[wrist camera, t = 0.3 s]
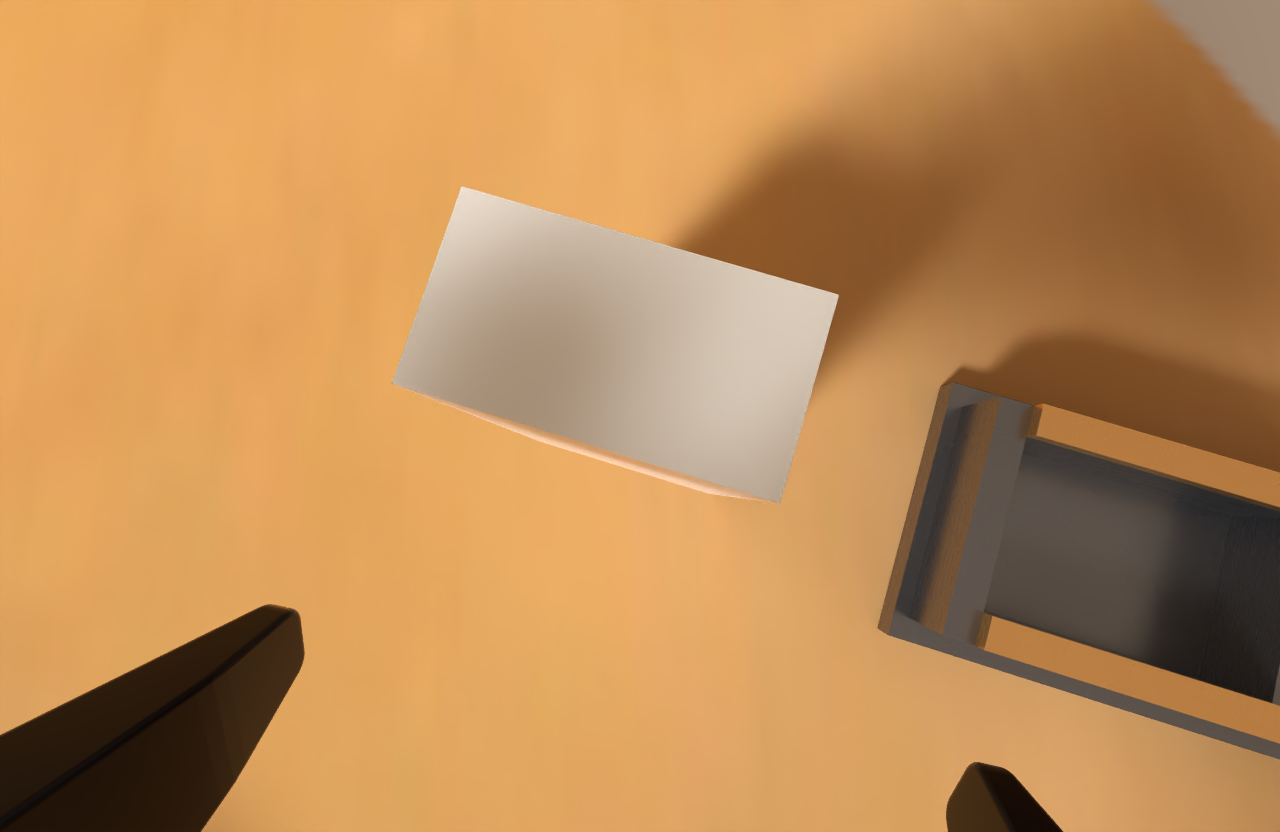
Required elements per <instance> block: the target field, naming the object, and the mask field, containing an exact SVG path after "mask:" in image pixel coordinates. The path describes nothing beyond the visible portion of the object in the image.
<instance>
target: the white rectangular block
mask: <svg viewBox="0 0 1280 832" xmlns="http://www.w3.org/2000/svg"><path fill="white" fill-rule="evenodd" d="M838 297H839V295H838V294H835V293H831V292H828V291H824V290H821V289H817V288H814V287H810V286H807V285H803V284H800V283H796V282H793V281H789V280H786V279H782V278H779V277H775V276H772V275H768V274H765V273H762V272H758V271H755V270H751V269H748V268H744V267H741V266H737V265H734V264H730V263H727V262H723V261H720V260H716V259H713V258H709V257H706V256H702V255H699V254H695V253H692V252H688V251H685V250H681V249H678V248H675V247H671V246H668V245H664V244H661V243H657V242H654V241H650V240H647V239H643V238H640V237H636V236H633V235H629V234H626V233H622V232H619V231H615V230H612V229H608V228H605V227H601V226H598V225H595V224H591V223H588V222H584V221H581V220H577V219H574V218H570V217H567V216H563V215H560V214H556V213H553V212H549V211H546V210H542V209H539V208H535V207H532V206H528V205H525V204H521V203H518V202H514V201H511V200H508V199H504V198H501V197H497V196H494V195H490V194H487V193H483V192H480V191H476V190H473V189H469V188H466V187H461V190H460V193H459V196H458V198H457V201H456V204H455V207H454V210H453V213H452V215H451V218H450V221H449V224H448V227H447V229H446V232H445V235H444V238H443V241H442V244H441V246H440V249H439V252H438V255H437V258H436V260H435V263H434V266H433V269H432V272H431V275H430V277H429V280H428V283H427V286H426V289H425V291H424V294H423V297H422V300H421V303H420V306H419V308H418V311H417V314H416V317H415V320H414V323H413V325H412V328H411V331H410V334H409V337H408V339H407V342H406V345H405V348H404V351H403V354H402V356H401V359H400V362H399V365H398V368H397V370H396V373H395V376H394V379H393V382H392V384H394V385H397V386H399V387H402V388H404V389H407V390H409V391H412V392H415V393H417V394H420V395H422V396H425V397H427V398H430V399H433V400H435V401H438V402H440V403H443V404H445V405H448V406H451V407H453V408H456V409H458V410H461V411H463V412H466V413H468V414H471V415H474V416H476V417H479V418H481V419H484V420H486V421H489V422H492V423H494V424H497V425H499V426H502V427H504V428H507V429H510V430H512V431H515V432H517V433H520V434H522V435H525V436H528V437H530V438H533V439H535V440H538V441H540V442H544V443H547V444H550V445H553V446H557V447H560V448H563V449H566V450H570V451H573V452H576V453H579V454H582V455H586V456H589V457H592V458H595V459H599V460H602V461H605V462H608V463H612V464H615V465H618V466H621V467H624V468H628V469H631V470H634V471H637V472H641V473H644V474H647V475H650V476H653V477H657V478H660V479H663V480H666V481H670V482H673V483H676V484H679V485H683V486H686V487H689V488H692V489H695V490H699V491H702V492H705V493H708V494H715V495H722V496H730V497H737V498H744V499H751V500H759V501H766V502H773V503H780V502H781V499H782V495H783V492H784V488H785V485H786V481H787V477H788V474H789V470H790V467H791V463H792V460H793V456H794V453H795V449H796V446H797V442H798V439H799V435H800V431H801V428H802V424H803V421H804V417H805V414H806V410H807V407H808V403H809V400H810V396H811V393H812V389H813V385H814V382H815V378H816V375H817V371H818V368H819V364H820V361H821V357H822V354H823V350H824V347H825V343H826V339H827V336H828V332H829V329H830V325H831V322H832V318H833V315H834V311H835V308H836V304H837V301H838Z"/></svg>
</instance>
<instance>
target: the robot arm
mask: <svg viewBox="0 0 1280 832" xmlns="http://www.w3.org/2000/svg"><path fill="white" fill-rule="evenodd" d="M303 660H304V643H303V635H302V627H301V619H300V615H299V613H298V612H297V611H296V610H294V609H291V608H287V607H282V606H278V605H272V604H269V605H264V606H261V607H259V608H257V609H255V610H253V611H251V612H249V613H247V614H245V615H243V616H241V617H239V618H237V619H235V620H233V621H230V622H228V623H226V624H224V625H222V626H220V627H218V628H216V629H214V630H212V631H210V632H208V633H206V634H204V635H202V636H200V637H198V638H196V639H194V640H192V641H190V642H188V643H186V644H184V645H182V646H180V647H178V648H176V649H174V650H172V651H170V652H168V653H166V654H164V655H162V656H160V657H158V658H155V659H153V660H151V661H149V662H147V663H145V664H143V665H141V666H139V667H137V668H135V669H133V670H131V671H129V672H127V673H125V674H123V675H121V676H119V677H117V678H115V679H113V680H111V681H109V682H107V683H105V684H103V685H101V686H99V687H97V688H95V689H93V690H91V691H89V692H87V693H85V694H83V695H80V696H78V697H76V698H74V699H72V700H70V701H68V702H66V703H64V704H62V705H60V706H58V707H56V708H54V709H52V710H50V711H48V712H46V713H44V714H42V715H40V716H38V717H36V718H34V719H32V720H30V721H28V722H26V723H24V724H22V725H20V726H18V727H16V728H14V729H12V730H10V731H8V732H5V733H3V734H1V735H0V832H201V831H202V829H203V828H204V826H205V825H206V824H207V822H208V821H209V819H210V818H211V816H212V815H213V814H214V812H215V811H216V809H217V808H218V807H219V805H220V804H221V802H222V801H223V799H224V798H225V796H226V795H227V793H228V792H229V790H230V789H231V787H232V786H233V784H234V783H235V781H236V780H237V778H238V776H239V775H240V773H241V772H242V770H243V768H244V767H245V765H246V763H247V762H248V760H249V758H250V756H251V755H252V753H253V751H254V749H255V748H256V746H257V744H258V742H259V741H260V739H261V737H262V736H263V734H264V732H265V730H266V729H267V727H268V725H269V723H270V722H271V720H272V718H273V716H274V715H275V713H276V711H277V709H278V708H279V706H280V704H281V702H282V701H283V699H284V697H285V696H286V694H287V692H288V690H289V689H290V687H291V685H292V683H293V682H294V680H295V678H296V676H297V675H298V673H299V671H300V669H301V666H302V664H303ZM946 821H947V828H948V832H1063V831H1062V830H1061V828H1060V827H1059V826H1058V825H1057V824H1056V823H1055V822H1054V820H1053V819H1052V818H1051V817H1050V816H1049V815H1048V814H1047V813H1046V811H1045V810H1044V809H1043V808H1042V807H1041V806H1040V805H1039V803H1038V802H1037V801H1036V800H1035V799H1034V798H1033V797H1032V795H1031V794H1030V793H1029V792H1028V791H1027V790H1026V789H1025V787H1024V786H1023V785H1022V784H1021V783H1020V782H1019V781H1018V780H1017V778H1016V777H1015V776H1014V775H1013V774H1012V773H1010V772H1009V771H1008V770H1006V769H1004V768H1001V767H998V766H993V765H989V764H984V763H980V762H974V763H972V764H970V765H969V766H968V767H967V769H966V770H965V772H964V774H963V776H962V777H961V779H960V781H959V783H958V784H957V786H956V788H955V789H954V791H953V793H952V795H951V796H950V798H949V801H948V804H947V810H946Z"/></svg>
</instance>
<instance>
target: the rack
mask: <svg viewBox="0 0 1280 832" xmlns="http://www.w3.org/2000/svg"><path fill="white" fill-rule="evenodd" d="M878 629H880V630H881V631H883V632H884V633H886V634H887V635H890V636H893V637H896V638H899V639H902V640H906V641H909V642H912V643H915V644H918V645H921V646H925V647H928V648H931V649H934V650H937V651H940V652H943V653H947V654H950V655H953V656H956V657H959V658H962V659H965V660H969V661H972V662H975V663H978V664H981V665H984V666H987V667H991V668H994V669H997V670H1000V671H1003V672H1006V673H1009V674H1013V675H1016V676H1019V677H1022V678H1025V679H1028V680H1032V681H1035V682H1038V683H1041V684H1044V685H1047V686H1050V687H1054V688H1057V689H1060V690H1063V691H1066V692H1069V693H1072V694H1076V695H1079V696H1082V697H1085V698H1088V699H1091V700H1094V701H1098V702H1101V703H1104V704H1107V705H1110V706H1113V707H1117V708H1120V709H1123V710H1126V711H1129V712H1132V713H1135V714H1139V715H1142V716H1145V717H1148V718H1151V719H1154V720H1157V721H1161V722H1164V723H1167V724H1170V725H1173V726H1176V727H1179V728H1183V729H1186V730H1189V731H1192V732H1195V733H1198V734H1201V735H1205V736H1208V737H1211V738H1214V739H1217V740H1220V741H1224V742H1227V743H1230V744H1233V745H1236V746H1239V747H1242V748H1246V749H1249V750H1252V751H1255V752H1258V753H1261V754H1264V755H1268V756H1271V757H1274V758H1277V759H1280V472H1277V471H1273V470H1270V469H1266V468H1263V467H1259V466H1256V465H1253V464H1249V463H1246V462H1242V461H1239V460H1235V459H1232V458H1229V457H1225V456H1222V455H1218V454H1215V453H1211V452H1208V451H1205V450H1201V449H1198V448H1194V447H1191V446H1187V445H1184V444H1181V443H1177V442H1174V441H1170V440H1167V439H1163V438H1160V437H1157V436H1153V435H1150V434H1146V433H1143V432H1140V431H1136V430H1133V429H1129V428H1126V427H1122V426H1119V425H1116V424H1112V423H1109V422H1105V421H1102V420H1098V419H1095V418H1092V417H1088V416H1085V415H1081V414H1078V413H1074V412H1071V411H1068V410H1064V409H1061V408H1057V407H1054V406H1050V405H1047V404H1040V405H1035V406H1033V405H1030V404H1026V403H1023V402H1019V401H1016V400H1012V399H1009V398H1006V397H1002V396H999V395H995V394H992V393H988V392H985V391H981V390H978V389H975V388H971V387H968V386H964V385H961V384H958V383H954V382H953V383H950V384H947V385H944V386H941V387H940V391H939V394H938V398H937V402H936V406H935V410H934V414H933V417H932V421H931V425H930V429H929V433H928V437H927V440H926V444H925V448H924V452H923V456H922V460H921V463H920V467H919V471H918V475H917V479H916V483H915V486H914V490H913V494H912V498H911V502H910V506H909V509H908V513H907V517H906V521H905V525H904V529H903V532H902V536H901V540H900V544H899V548H898V552H897V555H896V559H895V563H894V567H893V571H892V575H891V578H890V582H889V586H888V590H887V594H886V598H885V601H884V605H883V609H882V613H881V617H880V621H879V624H878Z"/></svg>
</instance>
